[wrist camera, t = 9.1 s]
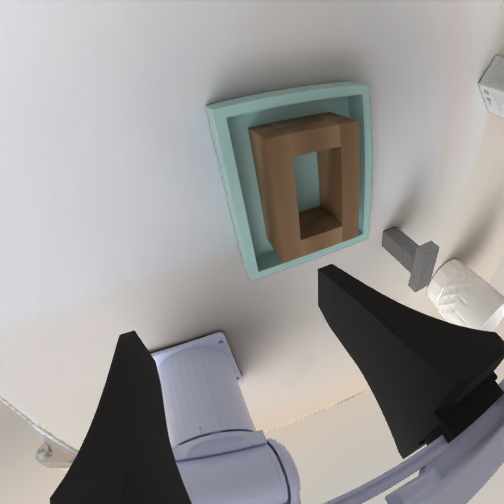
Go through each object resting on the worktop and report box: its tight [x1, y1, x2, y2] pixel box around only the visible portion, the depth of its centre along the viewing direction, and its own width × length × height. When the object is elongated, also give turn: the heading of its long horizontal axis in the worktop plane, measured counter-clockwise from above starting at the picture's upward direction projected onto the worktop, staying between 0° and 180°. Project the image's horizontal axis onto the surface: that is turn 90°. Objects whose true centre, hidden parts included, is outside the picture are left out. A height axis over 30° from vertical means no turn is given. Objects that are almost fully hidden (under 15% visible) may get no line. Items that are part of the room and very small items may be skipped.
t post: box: [382, 227, 439, 292], centre depth 24 cm, size 4×2×6 cm, turn 10°
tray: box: [206, 81, 372, 281], centre depth 19 cm, size 12×10×2 cm
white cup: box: [427, 259, 504, 332], centre depth 31 cm, size 8×8×10 cm
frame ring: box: [248, 112, 360, 263], centre depth 18 cm, size 6×8×3 cm
